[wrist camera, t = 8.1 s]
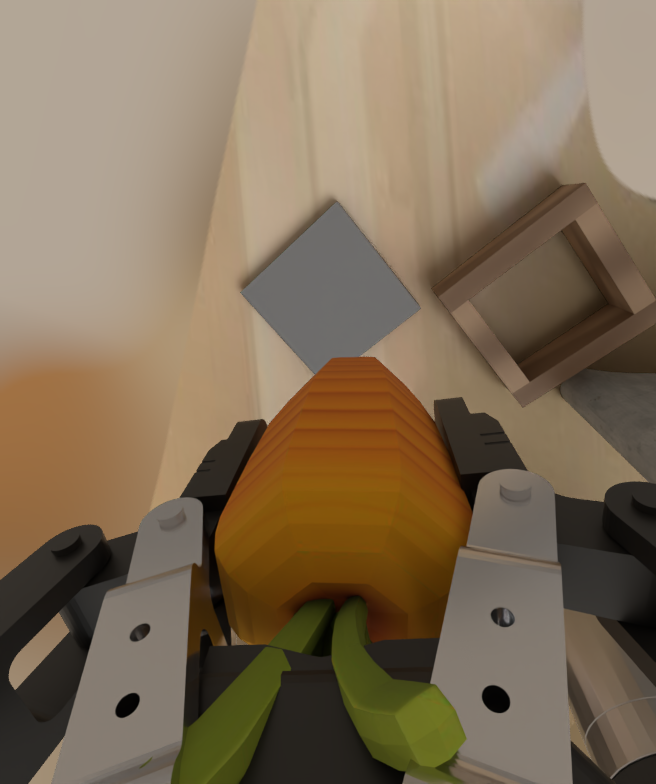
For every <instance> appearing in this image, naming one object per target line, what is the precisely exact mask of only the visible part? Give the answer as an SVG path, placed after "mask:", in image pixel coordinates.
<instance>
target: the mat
mask: <svg viewBox="0 0 656 784" xmlns="http://www.w3.org/2000/svg"><path fill="white" fill-rule="evenodd" d="M240 293H241V294H242V295H243V296H244V297H245V298H246V299H247V301H248V302H249V303H250V304H251V305H252V306H253V307H254V308H255V309H256V310H257V312H258V313H259V314H260V315H261V316H262V317H263V318H264V319H265V320H266V321H267V323H268V324H269V325H270V326H271V327H272V328H273V329H274V330H275V331H276V332H277V333H278V335H279V336H280V337H281V338H282V339H283V340H284V341H285V342H286V343H287V344H288V346H289V347H290V348H291V349H292V350H293V351H294V352H295V353H296V354H297V355H298V357H299V358H300V359H301V360H302V361H303V362H304V363H305V364H306V365H307V366H308V368H309V369H310V370H311V371H312V372H313V373H314V374H316V373H317V372H318V371H319V370H320V369H321V368H322V367H323V366H324V365H325V364H326V363H327V362H328V361H329V360H330V359H331V358H338V357H359V356H360V355H362V354H363V353H364V352H366V351H367V350H368V349H369V348H371V347H372V346H373V345H375V344H376V343H377V342H378V341H380V340H381V339H382V338H384V337H385V336H386V335H387V334H389V333H390V332H391V331H393V330H394V329H395V328H396V327H398V326H399V325H400V324H402V323H403V322H404V321H406V320H407V319H408V318H409V317H411V316H412V315H413V314H415V313H416V312H417V311H418V310H420V309H421V308H420V306H419V305H418V303H417V302H416V301H415V299H414V298H413V297H412V296H411V294H410V293H409V292H408V291H407V289H406V288H405V287H404V285H403V284H402V283H401V282H400V280H399V279H398V278H397V276H396V275H395V274H394V273H393V271H392V270H391V269H390V268H389V266H388V265H387V264H386V262H385V261H384V260H383V259H382V257H381V256H380V255H379V254H378V252H377V251H376V250H375V248H374V247H373V246H372V245H371V243H370V242H369V241H368V239H367V238H366V237H365V236H364V234H363V233H362V232H361V231H360V229H359V228H358V227H357V225H356V224H355V223H354V222H353V220H352V219H351V218H350V217H349V215H348V214H347V213H346V211H345V210H344V209H343V208H342V206H341V205H340V204H339V203H338V201H337V202H336V203H335V204H334V205H332V206H331V207H330V208H329V209H328V210H327V211H326V212H325V213H324V214H323V215H322V216H321V217H320V218H319V219H318V220H317V221H316V222H314V223H313V224H312V225H311V226H310V227H309V228H308V229H307V230H306V231H305V232H304V233H303V234H302V235H301V236H300V237H299V238H298V239H296V240H295V241H294V242H293V243H292V244H291V245H290V246H289V247H288V248H287V249H286V250H285V251H284V252H283V253H282V254H281V255H280V256H278V257H277V258H276V259H275V260H274V261H273V262H272V263H271V264H270V265H269V266H268V267H267V268H266V269H265V270H264V271H263V272H262V273H260V274H259V275H258V276H257V277H256V278H255V279H254V280H253V281H252V282H251V283H250V284H249V285H248V286H247V287H246V288H245V289H244V290H242V291H241V292H240Z"/></svg>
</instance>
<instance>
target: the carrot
mask: <svg viewBox="0 0 656 784" xmlns="http://www.w3.org/2000/svg"><path fill="white" fill-rule="evenodd" d="M472 515H473V513H472V510H471V507H470V505H469V502H468V500H467V497H466V494H465V492H464V491H463V490H462V489H461V486H460V483H459V480H458V478H457V475H456V472H455V469H454V466H453V463H452V460H451V458H450V455H449V452H448V450H447V448H446V445H445V443H444V441H443V439H442V436H441V434H440V432H439V430H438V427H437V425H436V423H435V422H434V420H433V419H432V418H431V416H430V415H429V414H428V412H427V411H426V409H425V408H424V407H423V405H422V404H421V403H420V401H419V400H418V399H417V398H416V397H415V396H414V395H413V393H412V392H411V391H410V390H409V389H408V388H407V387H406V386H405V385H404V384H403V383H402V382H401V381H400V380H399V379H398V378H397V377H396V376H395V375H394V374H393V373H392V372H390V371H389V370H388V369H387V368H386V367H385V366H384V365H383V364H382V363H381V362H380V361H379V360H377V359H376V358H375V357H338V358H331V359H330V360H329V361H328V362H327V363H326V364H325V365H324V366H323V367H322V368H321V369H320V370H319V371H318V372H317V373H316V374H315V375H314V376H313V377H312V378H311V379H310V380H309V381H308V382H307V383H306V384H305V385H304V386H303V387H302V388H301V389H300V390H299V391H298V392H297V393H296V394H295V395H294V396H293V397H292V398H291V399H290V400H289V402H288V403H287V404H286V405H285V406H284V407H283V408H282V410H281V411H280V412H279V413H278V414H277V415H276V416H275V418H274V419H273V420H272V421H271V422H270V423H269V425H268V427H267V429H266V431H265V432H264V434H263V436H262V438H261V439H260V441H259V443H258V445H257V446H256V448H255V450H254V452H253V453H252V455H251V457H250V459H249V461H248V462H247V464H246V466H245V468H244V470H243V472H242V474H241V476H240V478H239V480H238V482H237V484H236V486H235V488H234V490H233V492H232V494H231V496H230V498H229V500H228V502H227V504H226V506H225V508H224V510H223V512H222V514H221V516H220V519H219V522H218V526H217V529H216V532H215V556H216V561H217V566H218V571H219V576H220V581H221V586H222V591H223V596H224V601H225V606H226V611H227V617H228V622H229V625H230V627H231V628H232V629H233V630H234V632H235V633H236V634H237V635H238V637H239V638H240V639H241V640H243V641H244V642H246V643H247V644H249V645H257V644H266V645H270V646H274V647H278V648H282V649H286V650H291V651H295V652H299V653H303V654H307V655H311V656H316V657H325V656H330V655H332V665H333V669H334V671H335V674H336V677H337V681H338V684H339V688H340V691H341V695H342V698H343V702H344V705H345V707H346V709H347V711H348V713H349V715H350V717H351V719H352V721H353V723H354V725H355V727H356V729H357V731H358V733H359V735H360V736H361V738H362V740H363V741H364V743H365V745H366V747H367V748H368V750H369V752H370V753H371V755H372V757H373V758H375V759H377V760H379V761H381V762H383V763H385V764H387V765H389V766H391V767H393V768H395V769H397V770H399V771H406V770H407V767H408V764H409V761H410V759H412V760H413V761H415V762H416V763H418V764H419V765H420V766H429V767H434V768H435V767H437V766H439V765H441V764H442V763H444V762H446V761H448V760H450V759H451V758H452V757H453V755H454V754H455V753H456V752H457V750H458V749H459V748H460V747H461V746H462V744H463V743H464V742H465V741H466V740H467V738H466V735H465V733H464V730H463V728H462V725H461V723H460V720H459V718H458V715H457V713H456V710H455V709H454V707H453V706H452V705H451V703H450V702H449V701H448V700H447V698H446V697H445V696H444V694H443V693H442V692H441V691H440V689H439V688H438V687H437V685H436V684H429V683H422V682H415V681H405V680H396V679H392V678H391V677H390V676H389V675H388V674H387V673H386V672H385V671H384V670H383V669H382V668H380V667H379V666H378V665H377V664H376V663H375V662H374V661H373V660H372V658H371V657H370V656H369V654H368V653H367V652H366V650H365V648H364V645H368V644H371V643H375V642H378V641H381V640H394V639H421V638H440V635H441V631H442V626H443V621H444V616H445V612H446V607H447V602H448V598H449V593H450V588H451V584H452V579H453V574H454V570H455V565H456V560H457V556H458V551H459V548H460V546H461V545H463V546H467V541H468V535H469V530H470V525H471V520H472ZM278 648H272V647H265V648H264V649H263V650H262V651H261V653H260V654H259V655H258V656H257V657H256V658H255V659H254V660H253V661H252V662H251V663H250V664H249V665H248V667H247V668H246V669H245V670H244V671H243V672H242V673H241V674H240V675H239V676H238V677H237V678H236V679H235V680H234V681H233V682H232V684H231V685H230V686H229V687H228V688H227V689H226V690H225V691H224V692H223V693H222V694H221V695H220V696H219V697H218V698H217V700H216V701H215V702H214V703H213V704H212V705H211V706H210V707H209V708H208V709H207V710H206V711H205V712H204V713H203V714H202V715H201V717H200V718H199V719H198V720H197V721H195V722H194V723H193V724H192V725H191V726H189V727H188V731H187V736H186V741H185V746H184V751H183V756H182V761H181V769H180V780H179V784H239V782H240V781H241V779H242V778H243V776H244V775H245V773H246V771H247V768H248V766H249V764H250V762H251V759H252V757H253V754H254V752H255V749H256V747H257V744H258V742H259V739H260V737H261V734H262V731H263V729H264V726H265V724H266V721H267V719H268V716H269V714H270V711H271V709H272V706H273V703H274V701H275V698H276V696H277V693H278V691H279V688H280V686H281V673H282V671H290V670H291V667H290V665H289V663H288V661H287V658H286V656H285V654H284V652H283V650H282V649H278ZM151 759H152V757H151V758H150V759H149V760H148V761H147V762H146V763H145V764H143V765H142V766H141V767H143V766H145V765H146V764H147V763H148V762H149V761H151ZM141 767H140V768H141Z"/></svg>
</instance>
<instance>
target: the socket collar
mask: <svg viewBox="0 0 656 784" xmlns="http://www.w3.org/2000/svg"><path fill="white" fill-rule="evenodd" d="M561 230H562V232H563V233H564V235H565V236H566V238H567V240H568V241H569V243H570V244H571V246H572V247H573V249H574V250H575V252H576V254H577V255H578V257H579V258H580V260H581V261H582V263H583V265H584V266H585V268H586V269H587V271H588V272H589V274H590V275H591V277H592V279H593V280H594V282H595V283H596V285H597V286H598V288H599V290H600V291H601V293H602V294H603V296H604V297H605V299H606V301H607V302H608V304H607V305H606V306H604V307H603V308H601V309H600V310H598V311H597V312H595V313H594V314H592V315H591V316H589V317H588V318H586V319H585V320H583V321H582V322H580V323H579V324H577V325H576V326H574V327H573V328H571V329H570V330H569V331H567V332H566V333H564V334H563V335H561V336H560V337H558V338H557V339H555V340H554V341H552V342H551V343H549V344H548V345H546V346H545V347H543V348H542V349H540V350H539V351H537V352H536V353H534V354H533V355H531V356H530V357H528V358H527V359H525V360H524V361H522V362H521V363H519V364H518V365H517V364H516V363H515V361H514V360H513V359H512V357H511V356H510V355H509V353H508V352H507V351H506V349H505V348H504V347H503V345H502V344H501V343H500V341H499V340H498V339H497V337H496V336H495V335H494V333H493V332H492V331H491V329H490V328H489V327H488V325H487V324H486V322H485V321H484V320H483V318H482V317H481V316H480V314H479V313H478V312H477V310H476V309H475V308H474V306H473V305H472V304H471V302H470V301H469V299H471V298H472V297H473V296H475V295H476V294H477V293H478V292H480V291H481V290H482V289H484V288H485V287H486V286H488V285H489V284H490V283H492V282H493V281H494V280H496V279H497V278H498V277H500V276H501V275H502V274H504V273H505V272H506V271H508V270H509V269H510V268H512V267H513V266H514V265H516V264H517V263H518V262H520V261H521V260H522V259H524V258H525V257H526V256H528V255H529V254H530V253H532V252H533V251H534V250H536V249H537V248H538V247H540V246H541V245H542V244H544V243H545V242H546V241H548V240H549V239H550V238H552V237H553V236H554V235H556V234H557V233H558V232H560V231H561ZM431 289H432V290H433V291H434V293H435V294H436V295H437V296H438V298H439V299H440V300H441V302H442V303H443V304H444V306H445V307H446V308H447V310H448V311H449V312H450V313H451V315H452V316H453V317H454V319H455V320H456V321H457V323H458V324H459V325H460V326H461V328H462V329H463V330H464V332H465V333H466V334H467V336H468V337H469V338H470V340H471V341H472V342H473V343H474V345H475V346H476V347H477V349H478V350H479V351H480V353H481V354H482V355H483V357H484V358H485V359H486V360H487V362H488V363H489V364H490V366H491V367H492V368H493V370H494V371H495V372H496V374H497V375H498V376H499V377H500V379H501V380H502V381H503V383H504V384H505V385H506V387H507V388H508V389H509V391H510V392H511V393H512V394H513V396H514V397H515V398H516V400H517V401H518V402H519V403H520V405H521V406H522V407H525V406H526V405H528V404H529V403H531V402H532V401H534V400H536V399H537V398H539V397H540V396H542V395H544V394H545V393H547V392H548V391H550V390H551V389H553V388H555V387H556V386H558V385H559V384H561V383H563V382H564V381H566V380H567V379H569V378H571V377H572V376H574V375H575V374H577V373H578V372H580V371H582V370H583V369H585V368H586V367H588V366H590V365H591V364H593V363H594V362H596V361H597V360H599V359H601V358H602V357H604V356H605V355H607V354H609V353H610V352H612V351H613V350H615V349H617V348H618V347H620V346H621V345H623V344H624V343H626V342H628V341H629V340H631V339H632V338H634V337H636V336H637V335H639V334H640V333H642V332H643V331H645V330H647V329H648V328H650V327H651V326H653V325H655V324H656V299H655V297H654V296H653V294H652V292H651V291H650V289H649V287H648V286H647V284H646V282H645V281H644V279H643V277H642V276H641V274H640V272H639V271H638V269H637V267H636V266H635V264H634V262H633V261H632V259H631V257H630V256H629V254H628V252H627V251H626V249H625V247H624V246H623V244H622V242H621V241H620V239H619V237H618V236H617V234H616V232H615V231H614V229H613V227H612V226H611V224H610V222H609V221H608V219H607V217H606V216H605V214H604V213H603V211H602V209H601V208H600V206H599V204H598V203H597V201H596V199H595V198H594V196H593V194H592V193H591V191H590V189H589V188H588V186H587V184H586V183H580V184H571V185H562V186H561V187H560V188H558V189H557V190H556V191H555V192H553V193H552V194H551V195H550V196H548V197H547V198H546V199H544V200H543V201H542V202H541V203H539V204H538V205H537V206H536V207H534V208H533V209H532V210H530V211H529V212H528V213H527V214H525V215H524V216H523V217H522V218H520V219H519V220H518V221H517V222H515V223H514V224H513V225H511V226H510V227H509V228H508V229H506V230H505V231H504V232H503V233H501V234H500V235H499V236H497V237H496V238H495V239H494V240H492V241H491V242H490V243H489V244H487V245H486V246H485V247H484V248H482V249H481V250H480V251H478V252H477V253H476V254H475V255H473V256H472V257H471V258H470V259H468V260H467V261H466V262H464V263H463V264H462V265H461V266H459V267H458V268H457V269H456V270H454V271H453V272H452V273H450V274H449V275H448V276H447V277H445V278H444V279H443V280H442V281H440V282H439V283H438V284H437V285H435V286H434V287H433V288H431Z"/></svg>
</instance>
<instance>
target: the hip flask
mask: <svg viewBox="0 0 656 784" xmlns="http://www.w3.org/2000/svg"><path fill="white" fill-rule="evenodd" d="M560 391H561V395H562V397H563V398H564V399H565V400H566V401H567V402H568V403H569V404H570V405H571V406H572V407H573V408H574V409H575V410H576V411H577V412H578V413H579V414H580V415H581V416H582V417H583V418H584V419H585V420H586V421H587V422H588V423H589V424H590V425H591V426H592V427H593V428H594V429H595V430H596V431H597V432H598V433H599V434H600V435H601V436H602V437H603V438H604V439H605V440H606V441H607V442H608V443H609V444H610V445H611V446H612V447H613V448H615V449H616V450H617V451H618V452H619V453H620V454H621V455H622V456H623V457H624V458H625V459H626V460H627V461H628V462H629V463H630V464H631V465H632V466H633V467H634V468H635V469H636V470H637V471H638V472H639V473H640V474H641V475H642V476H643V477H644V478H645V479H646V480H647V481H648V482H649V483H654V484H656V373H620V372H608V371H599V370H592V369H583V370H582V371H580V372H578V373H577V374H575V375H574V376H572V377H571V378H569V379H567V380H566V381H564V382H563V383H562V384H561V389H560Z"/></svg>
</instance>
